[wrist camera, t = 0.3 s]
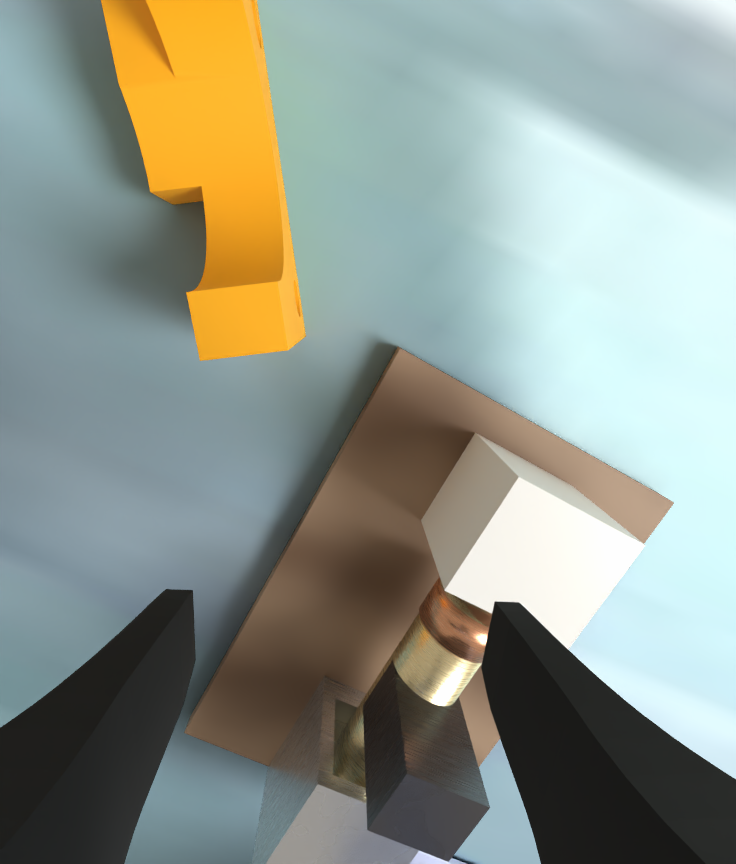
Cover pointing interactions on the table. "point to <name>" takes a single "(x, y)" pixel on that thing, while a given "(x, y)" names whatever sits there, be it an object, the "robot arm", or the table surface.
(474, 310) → the table surface
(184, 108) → the yellow u-shaped block
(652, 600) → the table surface
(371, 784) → the block with brass knob
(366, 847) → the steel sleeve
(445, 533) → the white square block
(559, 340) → the table surface
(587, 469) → the walnut board
